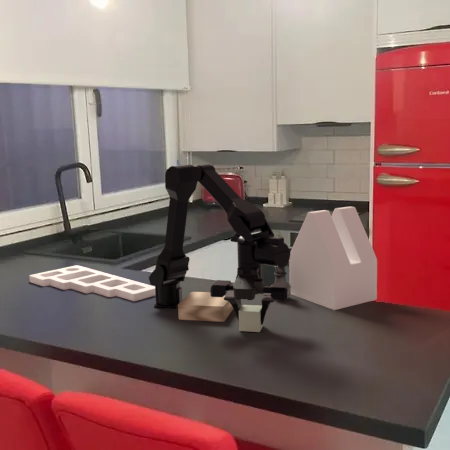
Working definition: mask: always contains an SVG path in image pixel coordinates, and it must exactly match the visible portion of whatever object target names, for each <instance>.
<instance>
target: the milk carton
mask: <svg viewBox="0 0 450 450" xmlns="http://www.w3.org/2000/svg"><path fill="white" fill-rule="evenodd" d="M295 238H296V239H295V241H294V243H293V244H292V245H293V246H292V248H291V250H290V259H289V262H288V267H289V269H288V273H289V274H288V275H289V278H288V283H289V285H290V286H291V288H290V289H291V293H290V296H291V295H292V296H294V297H297V298H300V299H303V300H305V301H308V302H311V303H314V304H317V305H320V306H322V307H324V308H328V309H330V310H332V311H333V310H334V311H336V310H340V309H344V308H348V307H352V306H356V305H361V304H363V303H364V304H365V303H368V302H373V301H375V300H377V298H378V288H377V287H378V286H377V285H378V258H377V256H376V254H375V251H374V248H373V246H372V244H371V242H370V239H369V237H368V234H367V231H366V230H365V228H364V225H363V223H362V220H361V218H360V216H359V213H358V211H357V208H356V207H355V206H344V207H335V208H334V210H333V211H332V214H331V212H330V210H326V209H323V210H315V211H308V212H307V214H306V215H305V218H304V221H303V222H302V225H301V227H300V229H299V232H298V234H297V236H296V237H295Z"/></svg>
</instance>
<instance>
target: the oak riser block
mask: <svg viewBox="0 0 450 450" xmlns="http://www.w3.org/2000/svg"><path fill="white" fill-rule="evenodd" d="M224 297H225V295H224V296H223V297H211V294H210V291H191V292H190V293H188V295H186V297H184V298H182V301H181V302H180V303H179V304H178V306H177V310H178V311H177V312H178V313H177V314H178V320H180V321H181V320H184V321H199V322H200V321H203V322H217V323H218V322H220V323H222V322H225V321H227V318H229V316H230V314H231V313H232V312H233V311H234V309H233V307H232V305H231V304H230V303H229V302H228V301H225V300H224Z"/></svg>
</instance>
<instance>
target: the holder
mask: <svg viewBox="0 0 450 450" xmlns="http://www.w3.org/2000/svg"><path fill="white" fill-rule="evenodd" d="M28 276H29V282H30V283H32V284H34V285H37V286H40V287H47V286H50V287H55V288H57V289H60V290H64V291H66V290H69V289H71V290H74V291H77V292H81V293H83V294H91V293H95V294H98V295H100V296H104V297H107V298H113V297H119V298H122V299H126V300H129V301H131V302H137V301H141V300H145V299H148V298H151V297H156V294H155V286H153V285H151V284H147V283H143V282H140V281H137V280H132V279H128V278H125V277H121V276H119V275H114V274H110V273H107V272H103V271H101V270H96V269H94V268H93V269H92V268H89V267H85V266H81V265H78V264H77V265H76V264H74V265H70V266H67V267H62V268H58V269H52V270H47V271H43V272H38V273H34V274H33V273H32V274H29V275H28Z"/></svg>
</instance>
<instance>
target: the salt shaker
mask: <svg viewBox="0 0 450 450" xmlns="http://www.w3.org/2000/svg"><path fill="white" fill-rule="evenodd" d="M273 274H274V282H282V283H287V281H286V279H287V278H286V275H287V274H288V273H287V272H286V266H285V267H283V268H279V267H274V272H273ZM272 285H273V284H271V285H270V286H272ZM290 288H291V286H290ZM290 299H291V297H290V296H289V297H288V299H287V300H275V301H274V302H286V301H290Z"/></svg>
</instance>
